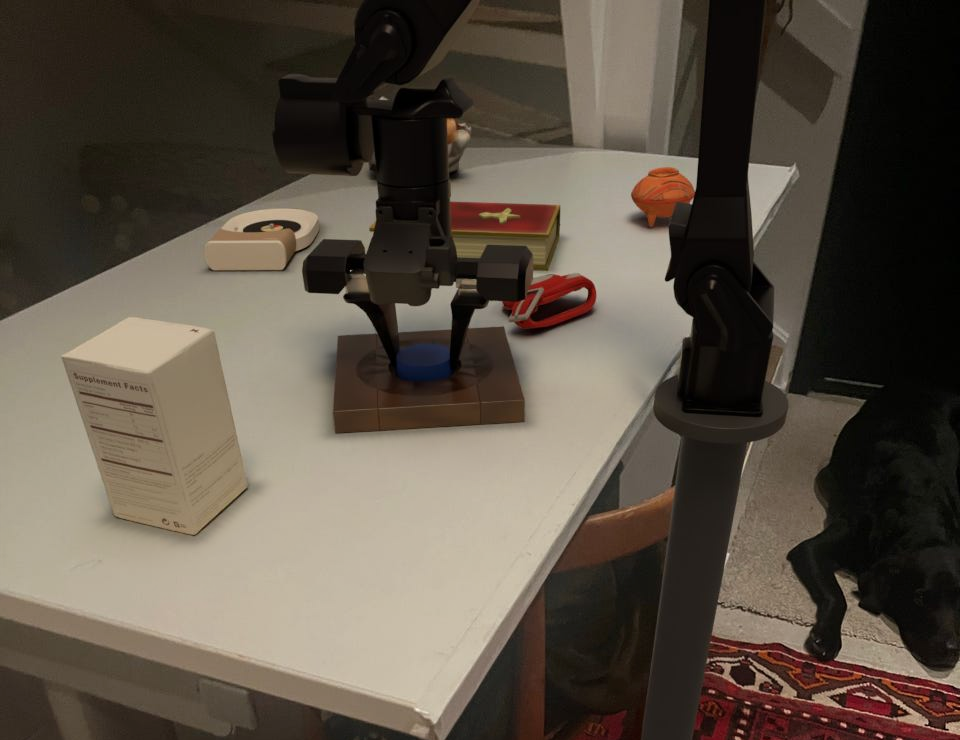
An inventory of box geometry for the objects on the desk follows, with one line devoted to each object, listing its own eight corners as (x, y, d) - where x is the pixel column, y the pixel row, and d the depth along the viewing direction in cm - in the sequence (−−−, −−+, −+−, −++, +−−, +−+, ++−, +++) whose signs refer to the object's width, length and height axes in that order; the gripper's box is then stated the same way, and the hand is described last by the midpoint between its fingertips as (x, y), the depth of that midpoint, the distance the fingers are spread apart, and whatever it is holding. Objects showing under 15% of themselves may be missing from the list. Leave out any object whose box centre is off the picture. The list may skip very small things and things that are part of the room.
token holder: (503, 346, 91) (503, 326, 89) (524, 421, 79) (524, 400, 77) (340, 355, 90) (337, 335, 88) (335, 433, 78) (332, 411, 76)
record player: (193, 242, 107) (236, 196, 122) (198, 270, 109) (240, 221, 124) (292, 242, 106) (323, 195, 122) (296, 270, 108) (326, 220, 124)
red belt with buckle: (490, 287, 100) (579, 257, 99) (502, 327, 102) (589, 299, 101) (504, 301, 89) (604, 267, 89) (517, 346, 91) (614, 314, 91)
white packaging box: (172, 470, 73) (130, 313, 65) (251, 488, 71) (217, 327, 63) (110, 518, 68) (56, 353, 60) (193, 538, 66) (149, 370, 58)
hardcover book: (396, 231, 119) (394, 196, 116) (559, 237, 116) (560, 201, 113) (372, 262, 110) (368, 225, 107) (547, 270, 107) (548, 231, 104)
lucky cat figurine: (467, 164, 144) (486, 80, 131) (451, 217, 139) (468, 135, 126) (374, 133, 142) (383, 45, 130) (353, 185, 137) (362, 100, 125)
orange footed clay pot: (684, 231, 115) (678, 173, 111) (626, 238, 119) (618, 182, 115) (706, 212, 120) (700, 155, 116) (650, 219, 124) (642, 165, 120)
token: (458, 369, 85) (457, 344, 84) (447, 393, 81) (446, 367, 80) (405, 367, 86) (403, 342, 84) (392, 390, 82) (390, 365, 81)
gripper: (265, 204, 68) (296, 401, 78) (515, 211, 65) (515, 414, 76) (311, 165, 76) (334, 348, 87) (535, 170, 74) (532, 358, 84)
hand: (424, 366), depth 83 cm, fingers closed on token, 5 cm apart
